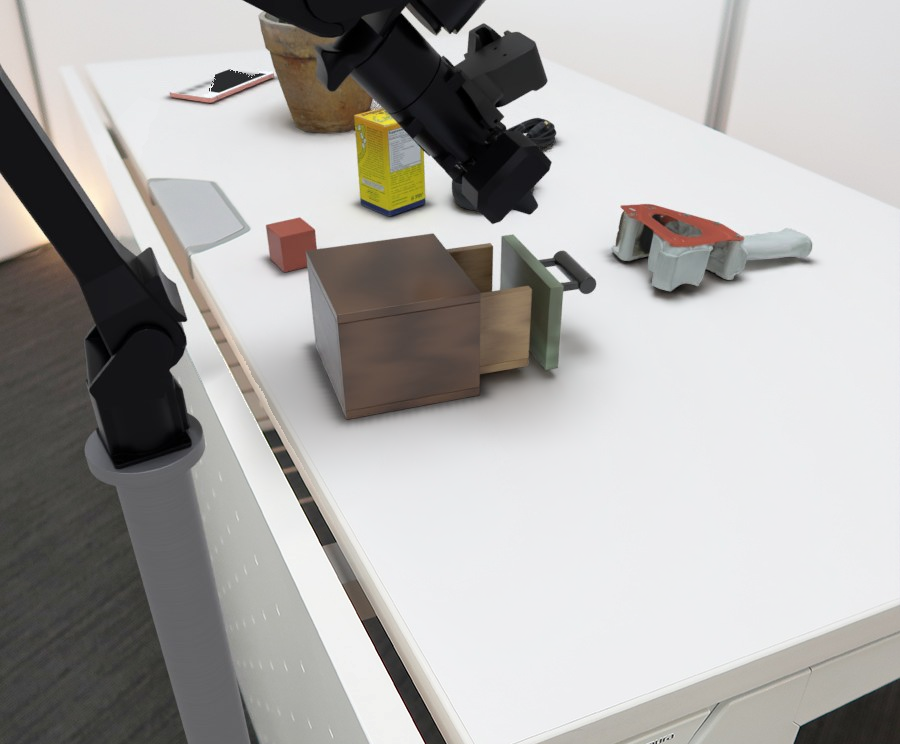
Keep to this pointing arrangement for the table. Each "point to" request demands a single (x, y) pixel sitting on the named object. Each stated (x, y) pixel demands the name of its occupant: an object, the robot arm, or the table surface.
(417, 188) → the supplement box
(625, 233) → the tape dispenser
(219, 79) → the cell phone
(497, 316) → the drawer
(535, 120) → the computer mouse
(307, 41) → the potted plant
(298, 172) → the table surface
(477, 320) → the cabinet
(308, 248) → the block
